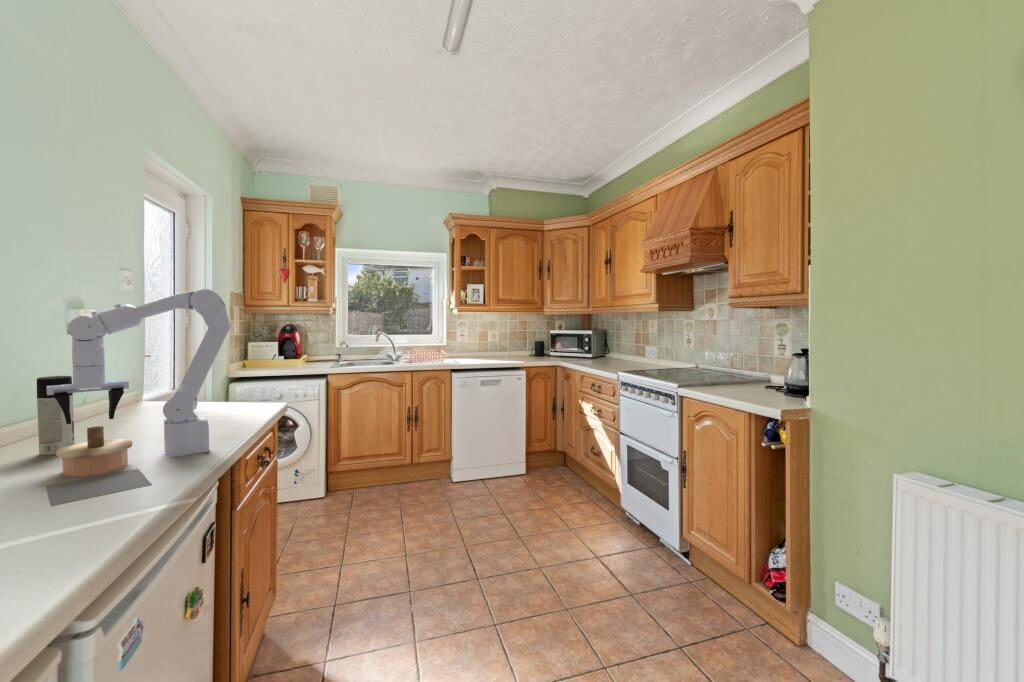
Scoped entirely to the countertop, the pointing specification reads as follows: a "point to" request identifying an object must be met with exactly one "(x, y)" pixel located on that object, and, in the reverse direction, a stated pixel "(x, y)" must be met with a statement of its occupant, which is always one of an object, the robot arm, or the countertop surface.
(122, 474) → the mat
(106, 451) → the lid
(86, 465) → the bowl
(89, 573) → the countertop surface
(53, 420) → the spray can
